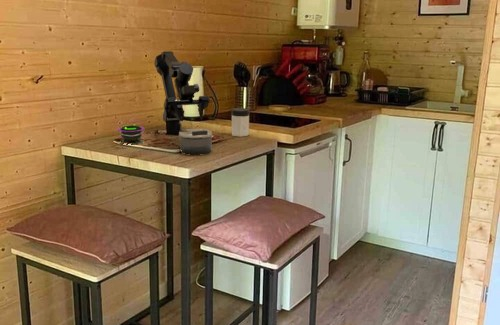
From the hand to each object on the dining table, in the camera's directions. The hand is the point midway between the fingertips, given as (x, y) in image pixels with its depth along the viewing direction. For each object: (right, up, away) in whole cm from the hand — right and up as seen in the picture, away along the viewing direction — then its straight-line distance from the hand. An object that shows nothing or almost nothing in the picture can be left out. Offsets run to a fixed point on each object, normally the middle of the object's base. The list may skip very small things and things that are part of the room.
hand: (191, 119), depth 206 cm
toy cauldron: (-26, -10, +7) cm, 29 cm away
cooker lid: (+2, -6, -4) cm, 8 cm away
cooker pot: (+2, -13, -2) cm, 13 cm away
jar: (+20, -5, +29) cm, 35 cm away
